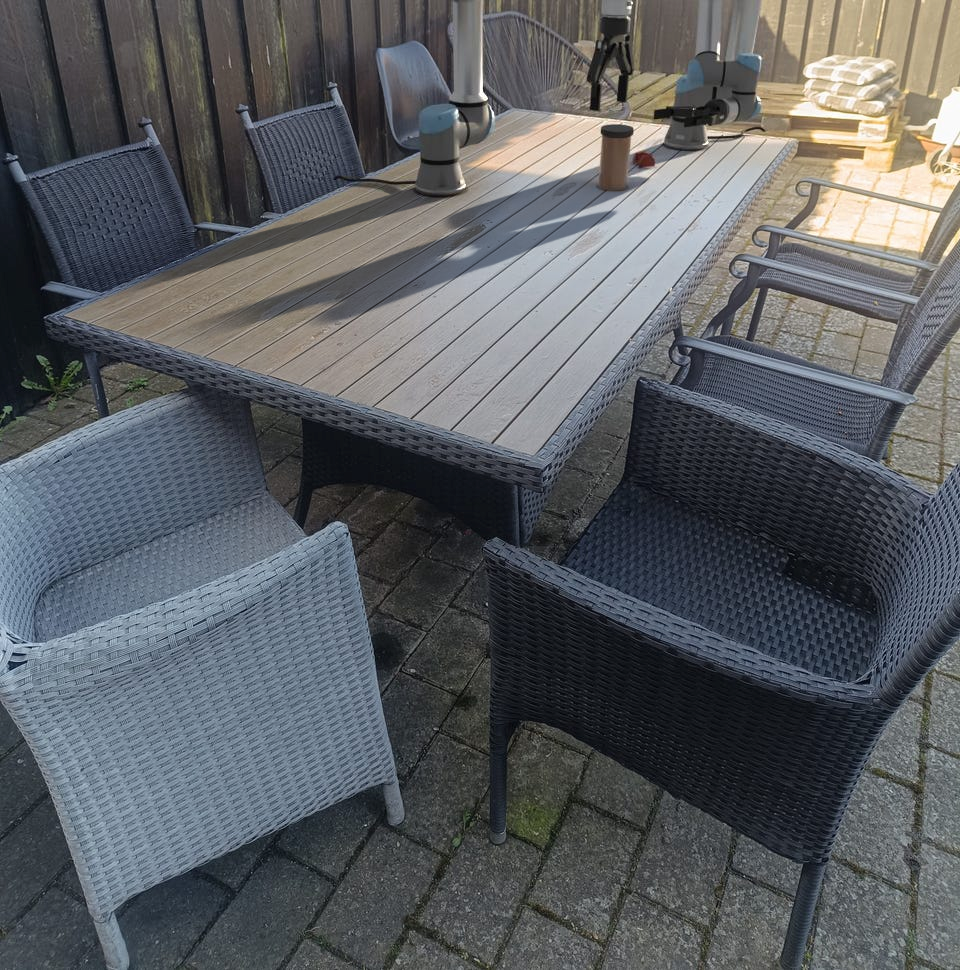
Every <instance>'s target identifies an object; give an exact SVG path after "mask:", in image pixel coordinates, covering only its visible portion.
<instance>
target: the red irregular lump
mask: <svg viewBox="0 0 960 970" xmlns="http://www.w3.org/2000/svg"><path fill="white" fill-rule="evenodd" d="M632 164H637V167H638V168H649V167H655V166H656V160H655V158H654V157H653V154H651V153H649V152H646V151H645V150H641V151H638V152H636V153H634V155H633V157H632Z"/></svg>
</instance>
